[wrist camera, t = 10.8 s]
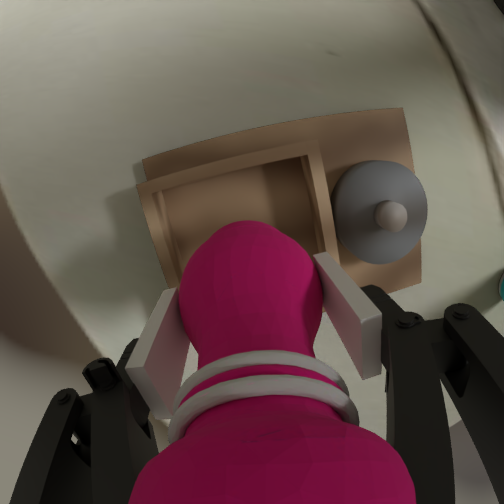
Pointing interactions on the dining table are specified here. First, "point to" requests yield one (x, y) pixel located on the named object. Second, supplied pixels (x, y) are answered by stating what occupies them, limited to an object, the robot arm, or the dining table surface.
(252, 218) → the pulley board
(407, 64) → the dining table surface
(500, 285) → the beverage can
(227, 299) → the pepper mill
